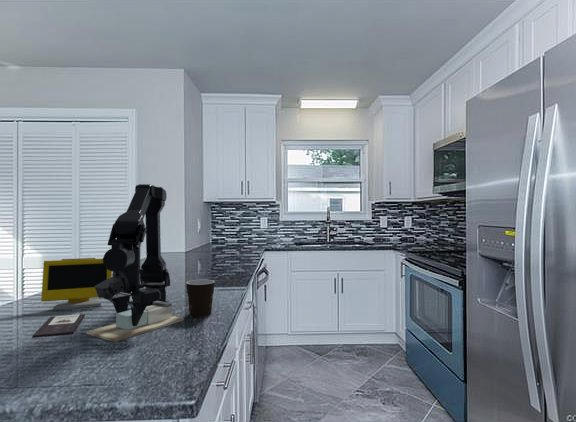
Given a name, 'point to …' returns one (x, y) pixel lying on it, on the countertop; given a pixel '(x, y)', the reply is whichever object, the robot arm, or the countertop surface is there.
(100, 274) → the toy computer monitor
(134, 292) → the robot arm
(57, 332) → the chocolate bar
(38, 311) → the countertop surface
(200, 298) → the coffee mug
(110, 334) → the board
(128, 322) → the stub
